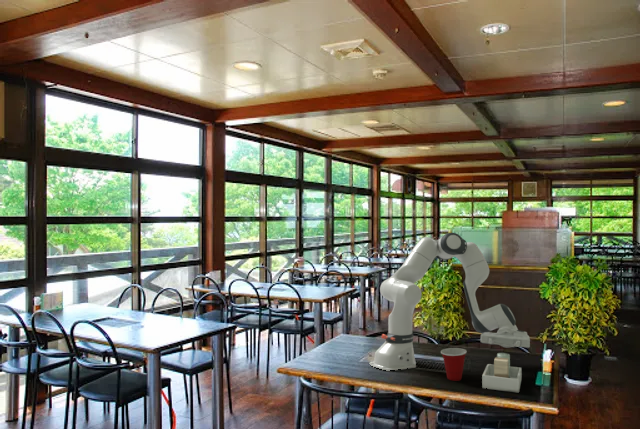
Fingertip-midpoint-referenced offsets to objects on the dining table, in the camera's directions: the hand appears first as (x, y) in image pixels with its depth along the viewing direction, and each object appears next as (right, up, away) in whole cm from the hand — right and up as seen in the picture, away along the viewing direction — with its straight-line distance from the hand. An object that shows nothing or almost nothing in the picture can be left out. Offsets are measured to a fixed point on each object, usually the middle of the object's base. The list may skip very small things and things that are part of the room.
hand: (503, 343), depth 213 cm
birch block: (-5, -14, -10) cm, 18 cm away
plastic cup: (-21, -15, 0) cm, 26 cm away
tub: (-3, -15, -7) cm, 16 cm away
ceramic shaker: (-1, -14, -3) cm, 14 cm away
